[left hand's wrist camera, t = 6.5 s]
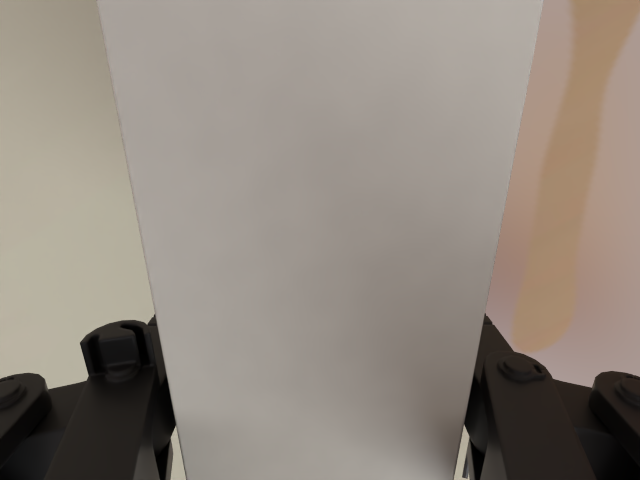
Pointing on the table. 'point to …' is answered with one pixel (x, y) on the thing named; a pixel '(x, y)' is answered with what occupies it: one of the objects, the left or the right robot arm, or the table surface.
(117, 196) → the table surface
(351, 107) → the bar
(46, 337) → the table surface
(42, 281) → the table surface
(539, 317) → the table surface
